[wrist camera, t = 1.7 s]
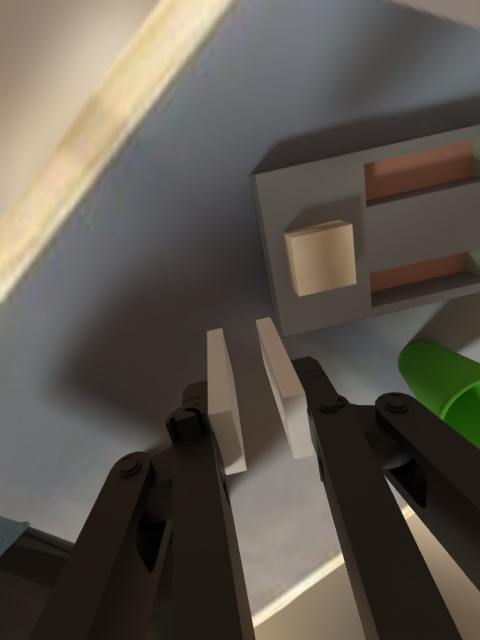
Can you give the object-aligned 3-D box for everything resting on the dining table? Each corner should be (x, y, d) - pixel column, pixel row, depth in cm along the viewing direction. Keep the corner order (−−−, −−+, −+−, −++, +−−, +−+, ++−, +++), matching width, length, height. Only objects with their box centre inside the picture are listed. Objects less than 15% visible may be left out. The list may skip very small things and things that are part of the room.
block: (290, 286, 32) (298, 296, 29) (282, 232, 30) (290, 238, 27) (343, 274, 32) (356, 283, 29) (338, 219, 30) (352, 224, 27)
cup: (404, 315, 39) (474, 364, 29) (468, 336, 41) (556, 389, 31) (367, 380, 42) (420, 446, 32) (429, 397, 44) (497, 464, 34)
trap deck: (275, 321, 37) (286, 343, 32) (249, 175, 32) (257, 175, 26) (524, 264, 38) (573, 278, 33) (545, 108, 32) (609, 96, 27)
